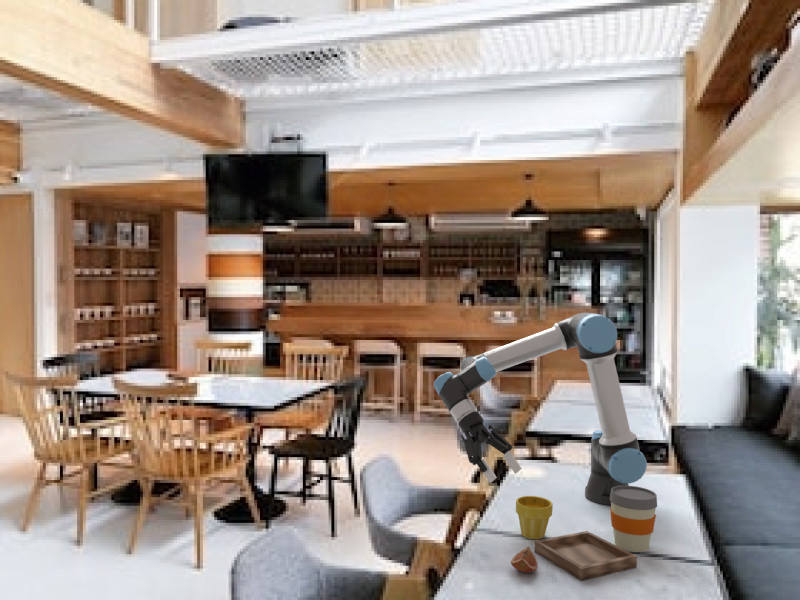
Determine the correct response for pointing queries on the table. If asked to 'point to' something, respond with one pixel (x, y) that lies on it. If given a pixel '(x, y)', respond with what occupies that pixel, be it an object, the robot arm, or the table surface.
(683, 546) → the table surface
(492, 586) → the table surface
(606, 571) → the walnut tray
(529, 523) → the plant pot
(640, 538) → the reusable coffee cup
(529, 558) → the fruit slice
